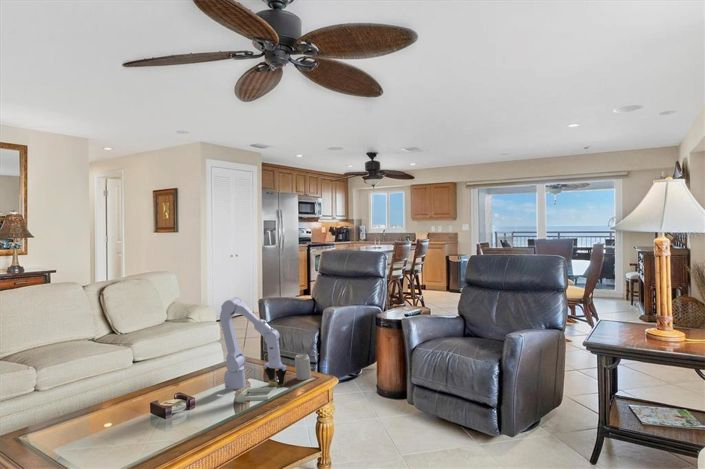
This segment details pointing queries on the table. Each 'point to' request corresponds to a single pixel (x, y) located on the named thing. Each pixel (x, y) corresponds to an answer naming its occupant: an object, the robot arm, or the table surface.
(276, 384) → the square frame with tab
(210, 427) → the table surface
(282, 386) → the square base with knob
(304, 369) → the can
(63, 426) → the table surface
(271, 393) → the tray
